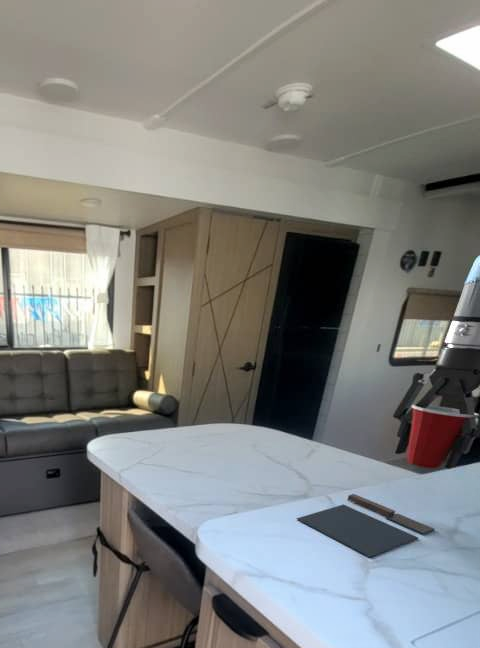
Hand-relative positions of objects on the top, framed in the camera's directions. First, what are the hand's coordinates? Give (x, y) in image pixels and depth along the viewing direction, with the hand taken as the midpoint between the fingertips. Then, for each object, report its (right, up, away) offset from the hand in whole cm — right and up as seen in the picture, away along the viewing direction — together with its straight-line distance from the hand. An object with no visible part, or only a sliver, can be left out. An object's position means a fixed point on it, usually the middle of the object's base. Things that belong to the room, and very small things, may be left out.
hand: (424, 459), depth 86 cm
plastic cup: (0, -1, +1) cm, 1 cm away
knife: (-9, -12, -1) cm, 14 cm away
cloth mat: (-19, -14, -7) cm, 24 cm away
